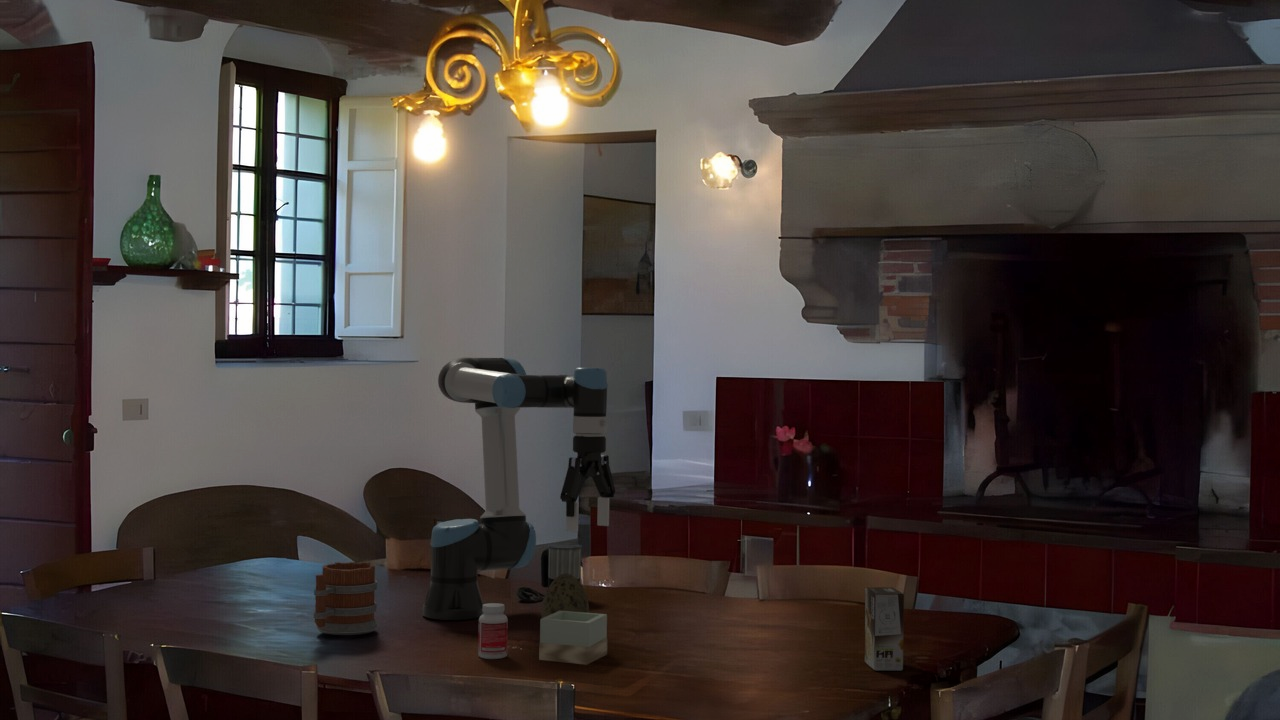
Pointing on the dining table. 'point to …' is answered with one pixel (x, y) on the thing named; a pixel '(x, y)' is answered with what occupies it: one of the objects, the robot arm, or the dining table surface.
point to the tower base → (572, 652)
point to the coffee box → (884, 628)
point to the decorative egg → (565, 596)
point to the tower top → (573, 628)
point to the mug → (346, 599)
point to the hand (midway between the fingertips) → (587, 528)
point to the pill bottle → (493, 632)
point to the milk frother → (555, 567)
